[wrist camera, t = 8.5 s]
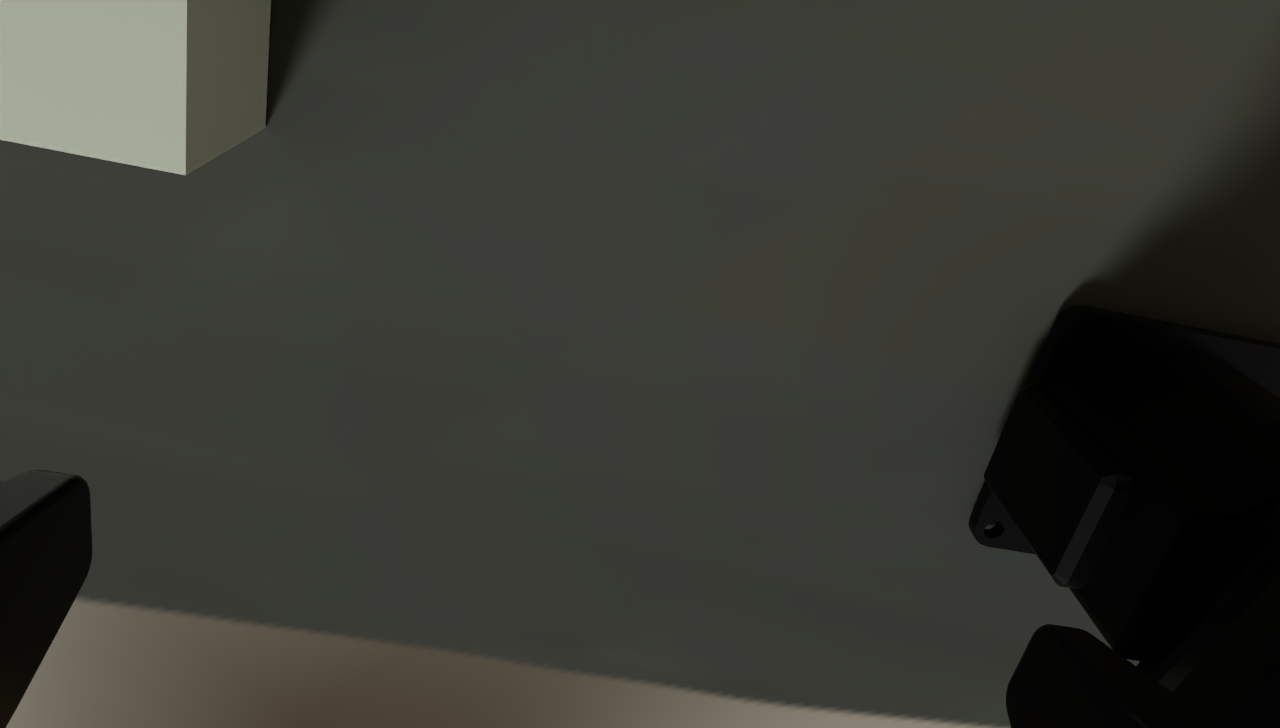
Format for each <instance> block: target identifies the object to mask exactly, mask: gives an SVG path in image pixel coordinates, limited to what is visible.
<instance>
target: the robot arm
mask: <svg viewBox="0 0 1280 728" xmlns="http://www.w3.org/2000/svg"><path fill="white" fill-rule="evenodd" d="M1082 322H1086V328H1085V329H1084V330H1083V331H1082V332H1081V333H1080V334H1078V335H1072V332H1073V329H1074V328H1075V327H1076V325H1078V324H1080V323H1082ZM984 478H985V480H986V482H985V484H984V486H983V489H982V491H981V493H980V495H979V498H978V500H977V502H976V505H975V507H974V509H973V512H972V514H971V516H970V519H969V528H970V531H971V532H972V534H973V536H974V537H975V539H976V540H977V541H978V542H979V543H980V544H982V545H985V546H988V547H994V548H1001V549H1007V550H1013V551H1019V552H1025V553H1031V554H1036V555H1037V557H1038V558H1039V559H1040V561H1041V562H1042V564H1043V565H1044V567H1045V568H1046V570H1047V571H1048V572H1049V574H1050V575H1051V577H1052V578H1053V580H1054V581H1055V583H1056V584H1058V585H1059V586H1061V587H1067V588H1069V589H1070V590H1071V591H1072V593H1073V594H1074V596H1075V597H1076V598H1077V600H1078V601H1079V603H1080V604H1081V606H1082V607H1083V608H1084V610H1085V611H1086V613H1087V614H1088V616H1089V617H1090V618H1091V620H1092V621H1093V623H1094V624H1095V625H1096V627H1097V628H1098V630H1099V631H1100V633H1101V634H1102V635H1103V637H1104V638H1105V640H1106V641H1107V643H1108V644H1109V645H1110V647H1111V648H1112V649H1111V648H1110V647H1108V646H1107V645H1105V644H1104V643H1103V642H1101V641H1100V640H1098V639H1097V638H1096V637H1094V636H1093V635H1091V634H1090V633H1088V632H1087V631H1084V630H1082V629H1078V628H1072V627H1065V626H1058V625H1052V624H1047V625H1043V626H1041V627H1040V628H1038V629H1037V630H1036V631H1035V633H1034V634H1033V636H1032V638H1031V640H1030V642H1029V644H1028V646H1027V648H1026V650H1025V652H1024V654H1023V656H1022V658H1021V660H1020V662H1019V664H1018V666H1017V668H1016V670H1015V672H1014V674H1013V676H1012V678H1011V680H1010V682H1009V684H1008V688H1007V692H1006V708H1007V713H1008V717H1009V721H1010V725H1011V728H1280V344H1275V343H1270V342H1265V341H1260V340H1255V339H1250V338H1245V337H1240V336H1235V335H1230V334H1225V333H1220V332H1215V331H1210V330H1205V329H1200V328H1195V327H1190V326H1185V325H1179V324H1174V323H1169V322H1164V321H1159V320H1154V319H1149V318H1144V317H1139V316H1134V315H1129V314H1124V313H1119V312H1114V311H1109V310H1104V309H1099V308H1094V307H1089V306H1073V307H1070V308H1067V309H1066V310H1065V311H1063V312H1062V313H1061V314H1060V315H1059V316H1058V318H1057V319H1056V321H1055V323H1054V325H1053V328H1052V330H1051V332H1050V334H1049V337H1048V339H1047V341H1046V344H1045V346H1044V348H1043V351H1042V353H1041V355H1040V357H1039V360H1038V362H1037V364H1036V367H1035V369H1034V371H1033V374H1032V376H1031V378H1030V380H1029V383H1028V385H1027V386H1026V387H1025V388H1024V389H1022V390H1021V391H1020V393H1019V395H1018V397H1017V400H1016V402H1015V404H1014V407H1013V409H1012V411H1011V414H1010V416H1009V418H1008V420H1007V423H1006V425H1005V427H1004V430H1003V432H1002V434H1001V437H1000V439H999V441H998V444H997V446H996V448H995V451H994V453H993V455H992V457H991V460H990V462H989V464H988V467H987V469H986V471H985V474H984ZM992 522H998V523H997V524H996V525H995V526H994V527H992V528H990V529H985V527H986V526H987V525H988V524H990V523H992ZM91 560H92V530H91V506H90V491H89V487H88V484H87V482H86V481H85V480H84V479H83V478H82V477H80V476H78V475H71V474H65V473H58V472H52V471H45V470H31V471H28V472H25V473H22V474H19V475H17V476H14V477H11V478H9V479H6V480H3V481H1V482H0V728H6V726H7V724H8V723H9V721H10V719H11V717H12V716H13V714H14V712H15V710H16V709H17V707H18V705H19V703H20V701H21V699H22V698H23V696H24V694H25V692H26V690H27V688H28V686H29V684H30V682H31V681H32V679H33V677H34V675H35V673H36V671H37V669H38V668H39V666H40V664H41V662H42V660H43V658H44V656H45V654H46V652H47V651H48V649H49V647H50V645H51V643H52V641H53V640H54V638H55V636H56V634H57V632H58V630H59V628H60V626H61V625H62V623H63V621H64V619H65V617H66V615H67V613H68V611H69V610H70V608H71V606H72V604H73V602H74V600H75V598H76V597H77V595H78V593H79V591H80V589H81V587H82V585H83V583H84V581H85V579H86V577H87V575H88V572H89V569H90V565H91ZM1126 659H1130V660H1137V661H1140V662H1139V664H1138V665H1137V666H1135V665H1133V664H1132V663H1130V662H1129V661H1128V660H1126Z"/></svg>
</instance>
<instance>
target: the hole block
mask: <svg viewBox="0 0 1280 728" xmlns="http://www.w3.org/2000/svg"><path fill="white" fill-rule="evenodd" d="M270 12H271V0H0V140H4V141H10V142H15V143H20V144H25V145H30V146H36V147H41V148H46V149H51V150H56V151H62V152H67V153H72V154H77V155H82V156H88V157H93V158H98V159H103V160H108V161H114V162H119V163H124V164H129V165H134V166H139V167H145V168H150V169H155V170H160V171H165V172H171V173H176V174H181V175H187V174H189V173H190V172H192V171H194V170H196V169H197V168H199V167H201V166H202V165H204V164H206V163H207V162H209V161H211V160H212V159H214V158H216V157H217V156H219V155H221V154H223V153H224V152H226V151H228V150H229V149H231V148H233V147H234V146H236V145H238V144H239V143H241V142H243V141H244V140H246V139H248V138H250V137H251V136H253V135H255V134H256V133H258V132H260V131H261V130H263V129H265V127H266V104H267V81H268V58H269V35H270Z"/></svg>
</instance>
